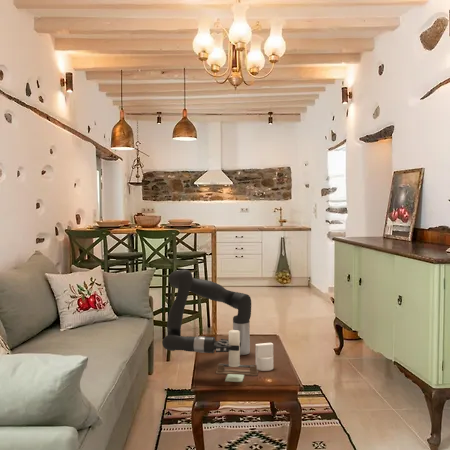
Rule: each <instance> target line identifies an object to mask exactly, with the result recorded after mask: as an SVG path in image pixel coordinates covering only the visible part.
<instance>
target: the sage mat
mask: <svg viewBox="0 0 450 450" xmlns="http://www.w3.org/2000/svg"><path fill="white" fill-rule="evenodd" d="M244 379H245V375H240V374H226V376H225V380H224V382H234V383H243V382H244Z"/></svg>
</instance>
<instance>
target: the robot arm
mask: <svg viewBox="0 0 450 450" xmlns="http://www.w3.org/2000/svg"><path fill="white" fill-rule="evenodd" d="M168 282H169V284H170V286H172V287H173V288H175V289H177V294H176V296H175V299H174V301H173V303H172V305H171V307H170V309H169V312H168V318H167V323H166V329H167V335H165V337H163V339H162V341H161V344H162V347H163V348H164V349H165V350H166V351H172V352H175V351H185V352H193V353H194V352H195V353H200V354H202V353H203V354H214V353H215V352H216V353H229V351H231V350H232V351H239V346H235V345H229V339H225V338H221V339H220V340H216V337H214V336H202V335H201V336H199V335H198V336H193V335H192V336H191V335H190V336H189V335H188V336H184V335H183V336H182V333H181V332H182V331H181V329H182V323H183V318H184V313H185V306H186V304H187V301H188V297H189V295H190V293H193V294H195V295H197V296H200V297H203V298H205V299H207V300H210V301H214V302H218V303H223V304H226V305H227V306H229V307H231V308H233V309H236V310H237V314H236V315H234V316H233V317H232V330H238V331H240V356H243V355H246V356H247V355H249V354H250V353H251V352H250V351H251V350H250V349H251V341H250V338H251V337H250V330H251V329H250V320H251V316H252V299H251V296H250V295H249V294H247V293H243V292H238V291H233V290H228V289H227V288H225V287H224V286H222V285H221V284H219V283H217V282H214V281H211V280H208V279H203V278H202V279H200V278H195V277H193V274H192V272H191V271H190V270H189V269H178V270H175V271H172V272H171V273H169V276H168Z"/></svg>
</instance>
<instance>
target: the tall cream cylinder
mask: <svg viewBox="0 0 450 450" xmlns="http://www.w3.org/2000/svg"><path fill="white" fill-rule="evenodd" d="M228 340H229V343H228V344H229V345H235V346H239V351H232V350H231V351H229V352H228V364H229V366H230V367H229V368H239V367H238V366H240V365H241V364H240V363H241V359H240V358H241V357H240V356H241V355H240V331H238V330H233V329H231V330H228Z"/></svg>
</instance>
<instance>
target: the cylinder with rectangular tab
mask: <svg viewBox="0 0 450 450" xmlns="http://www.w3.org/2000/svg"><path fill="white" fill-rule="evenodd" d="M254 345H255V352H254V353H255V365H257V371H262V372H268V371H273V370H274V343H272V342H264V343H263V342H261V343H255V344H254Z"/></svg>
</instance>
